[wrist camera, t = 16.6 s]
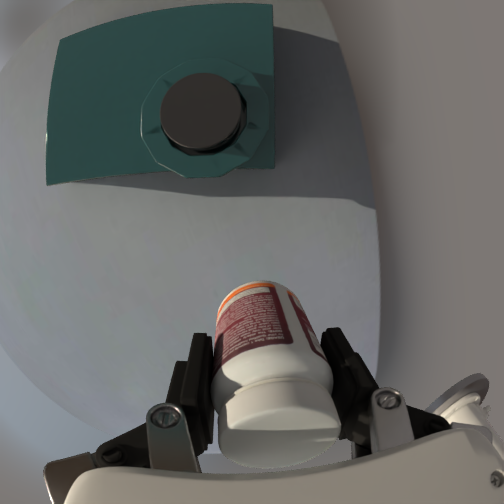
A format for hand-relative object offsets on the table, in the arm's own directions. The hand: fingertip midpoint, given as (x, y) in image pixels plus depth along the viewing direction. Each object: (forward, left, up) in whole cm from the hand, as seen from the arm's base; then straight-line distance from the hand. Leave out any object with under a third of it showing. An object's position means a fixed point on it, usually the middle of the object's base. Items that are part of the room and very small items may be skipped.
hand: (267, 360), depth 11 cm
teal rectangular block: (+7, -14, -10) cm, 19 cm away
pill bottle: (0, 0, -4) cm, 4 cm away
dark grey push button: (+3, -11, -5) cm, 13 cm away
